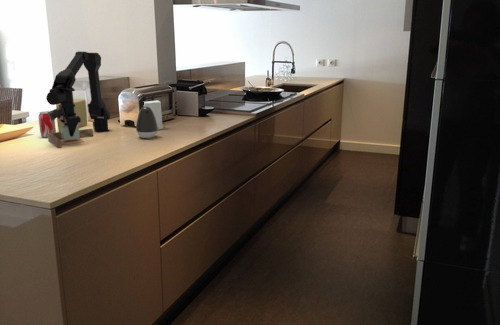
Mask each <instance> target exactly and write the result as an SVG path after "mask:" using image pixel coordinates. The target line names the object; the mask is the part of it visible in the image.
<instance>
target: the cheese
mask: <svg viewBox="0 0 500 325" xmlns="http://www.w3.org/2000/svg"><path fill="white" fill-rule="evenodd" d="M73 101H74V104H75V107H74V111H75V113H76V115H77V116H79V117H80V118H81V122H79V123H78V124H77V125H78V126H79V128H81V127H85V126H87V125H88V115H87V113H88V110H87V102H86V99H84V98H73ZM57 108H59V104H56V109H57ZM60 119H61V118H60ZM60 119H58V118H56V122H57V130H58V131H57V132H61V128H60V126H64V123H63V122H61V121H60Z"/></svg>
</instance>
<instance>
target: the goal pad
mask: <svg viewBox="0 0 500 325" xmlns="http://www.w3.org/2000/svg"><path fill="white" fill-rule="evenodd" d="M83 142H85V141H84V140H83V139H82V138H80V139H72V140H61V145H68V144H76V143H83Z"/></svg>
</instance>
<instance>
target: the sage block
mask: <svg viewBox="0 0 500 325" xmlns="http://www.w3.org/2000/svg"><path fill="white" fill-rule="evenodd" d="M60 128H61V137H62V139H63V140H72V139H81V138H80V136H79V130H80V127H79V126H78V125H77V127H76V129H75V132H74V135H73V136H70V133H69V129H68V126H67V125H66V126H60Z"/></svg>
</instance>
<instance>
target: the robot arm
mask: <svg viewBox="0 0 500 325" xmlns="http://www.w3.org/2000/svg"><path fill="white" fill-rule="evenodd" d="M82 66H84V68H85V69H86V70H87V73H88V74H87V76H88V81H89V82H88V83H89V84H88V85H89V90H90V102H89V103H88V104H87V108H88V110H87V113H88V115H89V117H90V120H93V122H92V126H93V128H92V129H93V132H96V133H101V132H106V131H107V132H108V131H110V129H109V124H108V120H110V119H111V113H110V112H109V111H108V109H107V106H106V103H105V102H104V100H103V99H102V92H101V82H100V74H99V70H100V67H101V66H102V56H101V55H100V54H99V53H98V52H88V51H79V50H78V51H76V52H75V54H74V56H73V58H72V59H71V60H70V62H69V63H68V65H67V66H66V67H65V69H63V70H61V71H59V72H58V73H57V74H56V76H55V77H54V81H53V83H52V87H51V88H49V92H48V93H47V95H46V101H47V103H48V104H49V105H51V106H55V105H56V104H59V108H57V107H56V108H55V109H54V108H53V109H52V110H49V111H50V112H48V115H49V117H50V119H52V120H54V119H55V120H57V118H58V119H60V118H61V119H60V121H61V122H63V123H64V126H66V125H67V126H68V129H69V133H70V136H73V135H74V132H75V129H76V127H77V124H78V123H79V122H81V118H80V117H79V116H77V115H76V113H75V111H74V107H75V104H74V101H73V99H74V93H73V92H75V91H76V89H75V88H74V87H73V86H74V84H75V83H76V80H77V79H76V76H77V74H78V72H79V71H80V69H81V68H82Z"/></svg>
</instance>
